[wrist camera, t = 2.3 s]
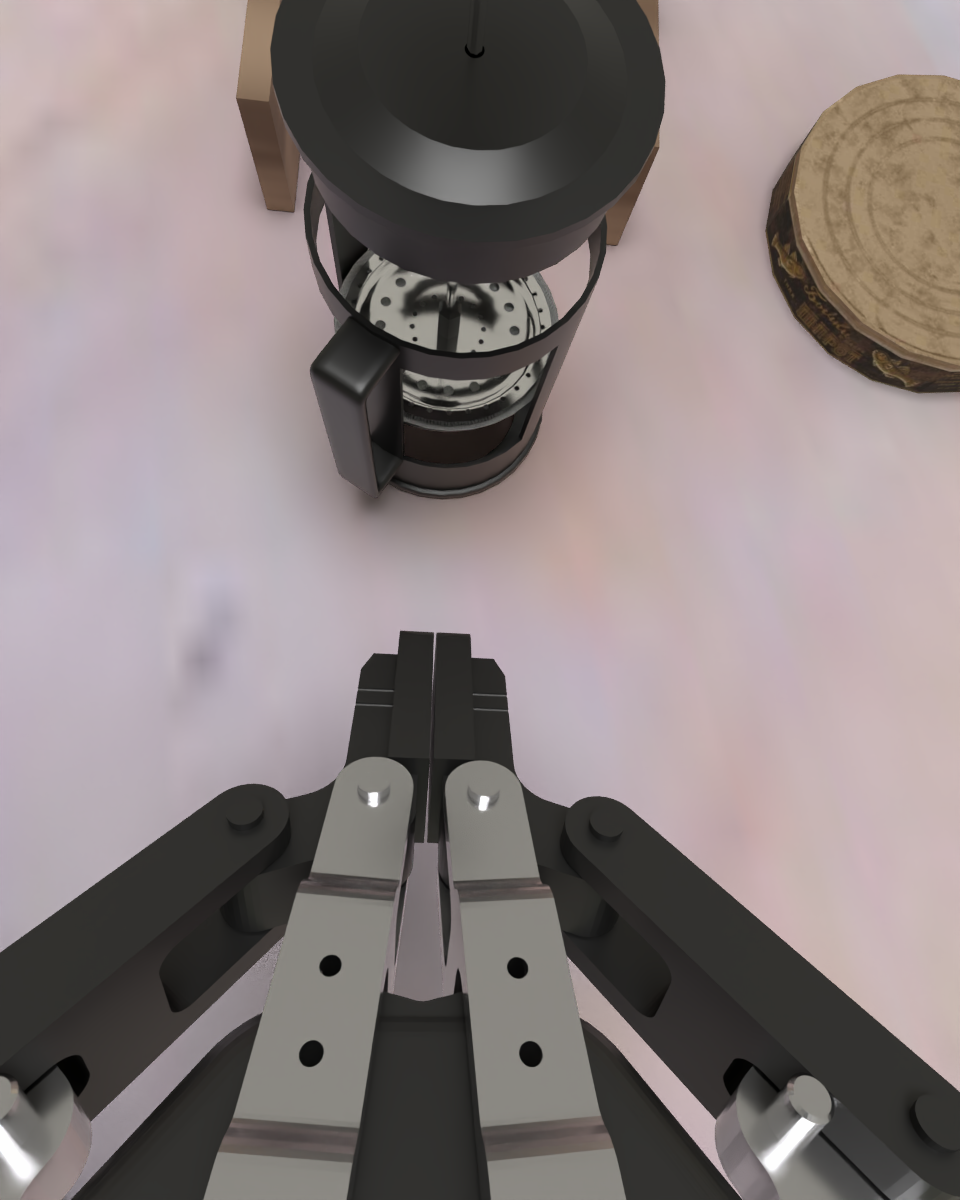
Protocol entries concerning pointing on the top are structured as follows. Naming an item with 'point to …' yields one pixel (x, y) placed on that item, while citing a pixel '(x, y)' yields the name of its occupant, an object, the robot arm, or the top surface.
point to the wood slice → (877, 232)
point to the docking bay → (278, 149)
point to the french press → (456, 206)
